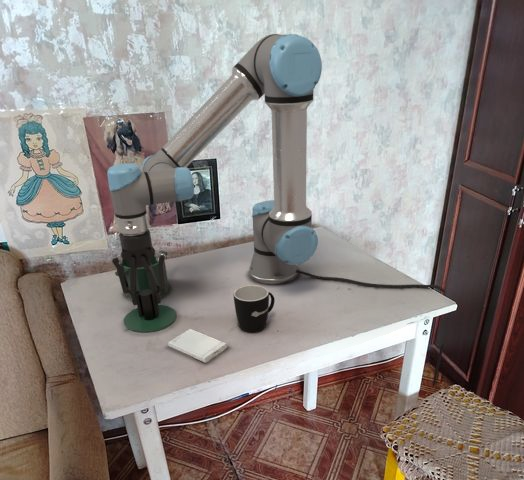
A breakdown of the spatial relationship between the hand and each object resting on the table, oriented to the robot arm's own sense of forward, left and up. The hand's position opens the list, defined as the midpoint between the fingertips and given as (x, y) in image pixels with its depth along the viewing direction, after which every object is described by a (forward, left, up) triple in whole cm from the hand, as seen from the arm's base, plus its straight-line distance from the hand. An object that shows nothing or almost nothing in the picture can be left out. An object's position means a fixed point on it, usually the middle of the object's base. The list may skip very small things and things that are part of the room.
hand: (149, 313), depth 135 cm
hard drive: (-20, +3, -2) cm, 20 cm away
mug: (-26, -14, -2) cm, 30 cm away
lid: (0, 0, -2) cm, 2 cm away
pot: (+14, -12, -2) cm, 19 cm away
